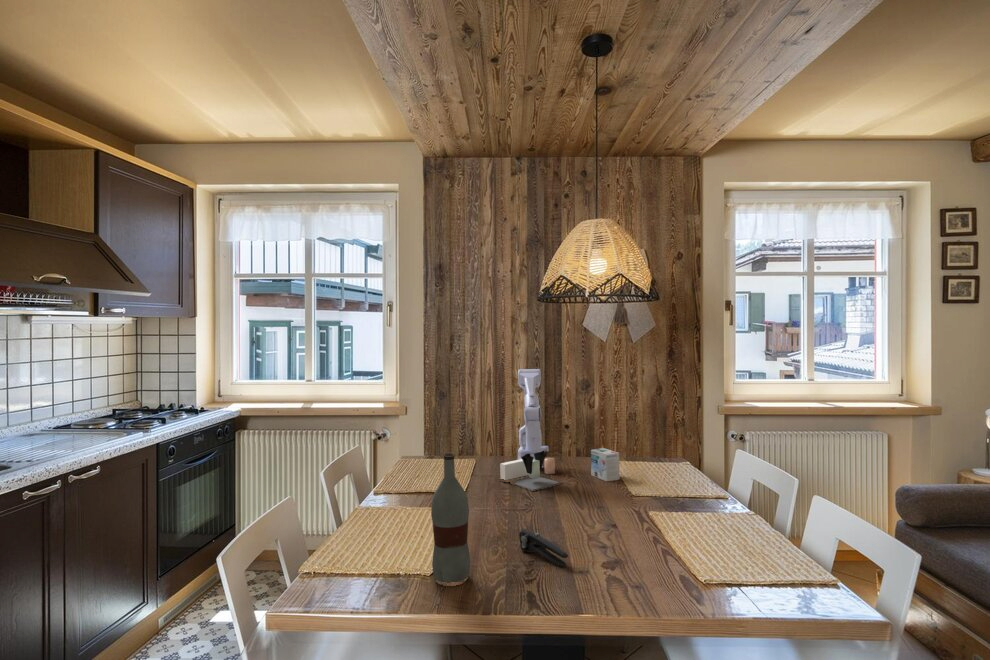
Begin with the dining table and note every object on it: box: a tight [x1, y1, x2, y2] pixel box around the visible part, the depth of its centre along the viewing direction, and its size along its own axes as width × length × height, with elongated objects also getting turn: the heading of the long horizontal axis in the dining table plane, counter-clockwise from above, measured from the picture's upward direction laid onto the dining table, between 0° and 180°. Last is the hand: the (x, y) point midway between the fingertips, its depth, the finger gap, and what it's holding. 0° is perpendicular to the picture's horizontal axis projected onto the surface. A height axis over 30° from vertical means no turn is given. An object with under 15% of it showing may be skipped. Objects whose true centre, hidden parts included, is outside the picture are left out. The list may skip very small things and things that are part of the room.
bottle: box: [430, 453, 471, 583], centre depth 126 cm, size 9×9×30 cm
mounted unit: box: [499, 459, 529, 480], centre depth 212 cm, size 4×15×7 cm, turn 128°
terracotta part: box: [543, 457, 556, 475], centre depth 220 cm, size 4×4×6 cm
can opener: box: [518, 528, 569, 568], centre depth 137 cm, size 18×7×6 cm, turn 34°
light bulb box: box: [590, 447, 621, 482], centre depth 211 cm, size 11×7×11 cm, turn 25°
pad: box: [515, 476, 561, 492], centre depth 203 cm, size 14×14×1 cm
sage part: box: [529, 460, 541, 478], centre depth 203 cm, size 4×4×6 cm
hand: (534, 472), depth 203 cm, fingers closed on sage part, 4 cm apart
